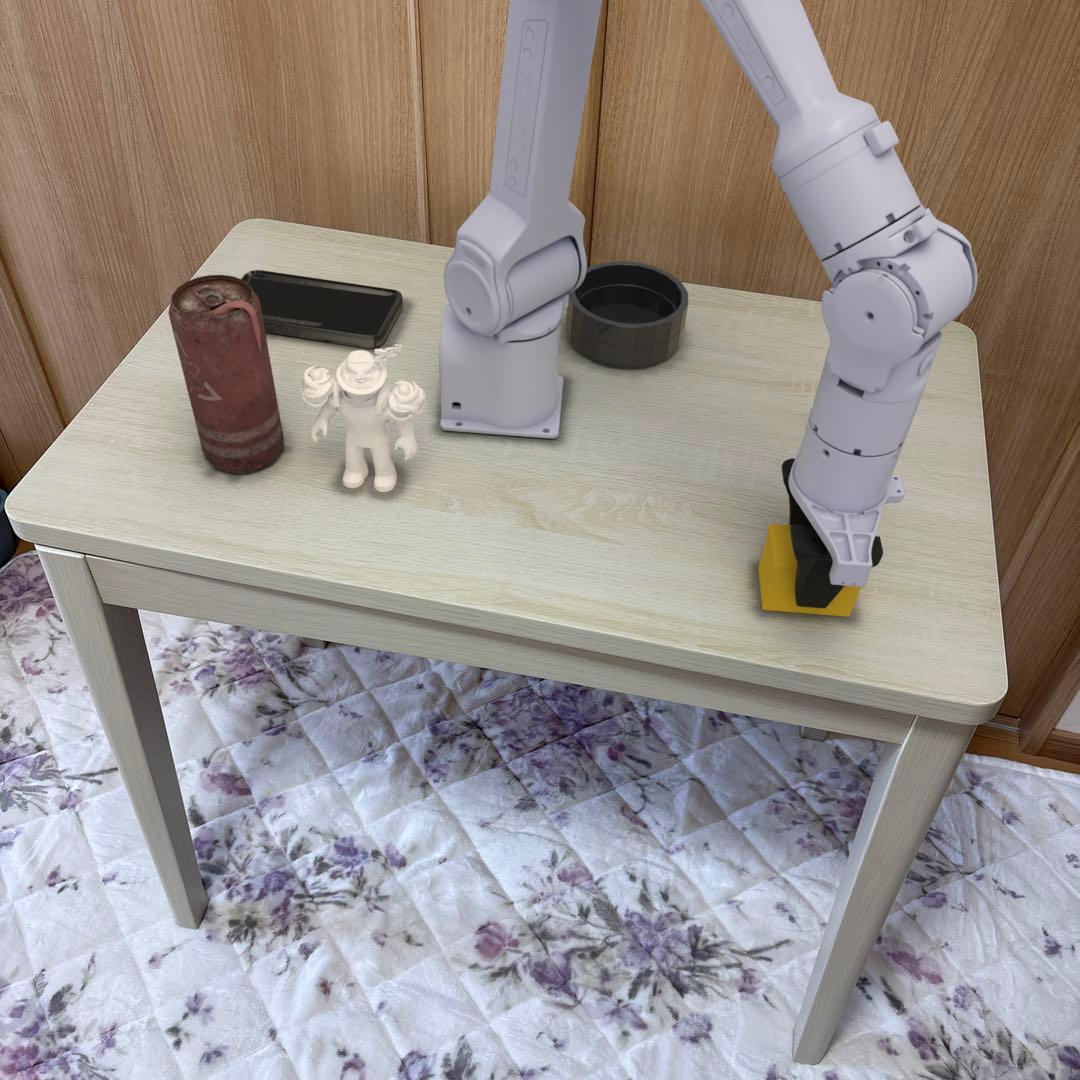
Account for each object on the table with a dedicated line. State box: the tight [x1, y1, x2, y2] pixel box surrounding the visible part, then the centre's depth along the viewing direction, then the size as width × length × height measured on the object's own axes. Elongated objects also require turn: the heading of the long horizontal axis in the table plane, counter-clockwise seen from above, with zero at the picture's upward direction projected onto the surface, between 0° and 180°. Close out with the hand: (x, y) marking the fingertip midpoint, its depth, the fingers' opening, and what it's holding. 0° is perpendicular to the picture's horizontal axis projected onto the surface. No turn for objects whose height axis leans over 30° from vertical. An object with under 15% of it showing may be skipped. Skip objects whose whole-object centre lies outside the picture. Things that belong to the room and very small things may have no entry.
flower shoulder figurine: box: [300, 343, 426, 493], centre depth 76 cm, size 9×4×12 cm, turn 79°
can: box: [167, 274, 285, 475], centre depth 77 cm, size 6×6×14 cm
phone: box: [241, 269, 404, 349], centre depth 95 cm, size 8×1×15 cm
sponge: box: [757, 523, 862, 618], centre depth 72 cm, size 6×4×4 cm, turn 86°
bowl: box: [565, 260, 689, 370], centre depth 93 cm, size 10×10×4 cm
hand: (807, 579), depth 73 cm, fingers closed on sponge, 4 cm apart
